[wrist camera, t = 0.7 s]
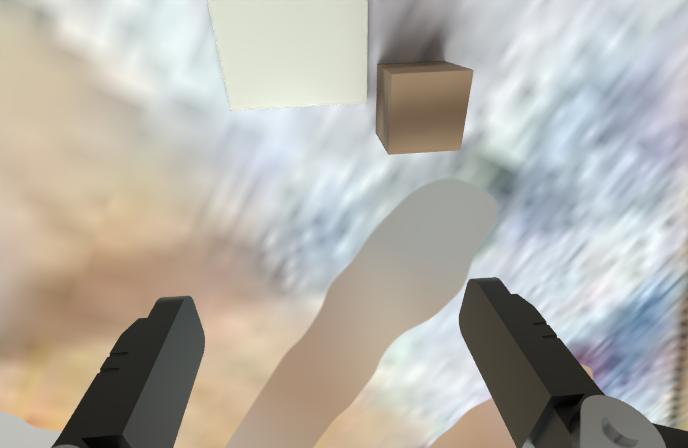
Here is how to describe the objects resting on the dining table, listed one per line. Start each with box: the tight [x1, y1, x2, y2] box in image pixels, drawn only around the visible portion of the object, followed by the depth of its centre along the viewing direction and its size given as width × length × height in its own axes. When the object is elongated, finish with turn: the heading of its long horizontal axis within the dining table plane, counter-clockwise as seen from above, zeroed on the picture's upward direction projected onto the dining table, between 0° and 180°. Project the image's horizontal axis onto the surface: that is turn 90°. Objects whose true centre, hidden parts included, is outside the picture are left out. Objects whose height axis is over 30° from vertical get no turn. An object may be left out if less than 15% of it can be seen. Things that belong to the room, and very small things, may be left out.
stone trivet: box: [207, 0, 368, 111], centre depth 26 cm, size 12×12×1 cm
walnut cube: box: [376, 61, 473, 155], centre depth 28 cm, size 6×6×6 cm
